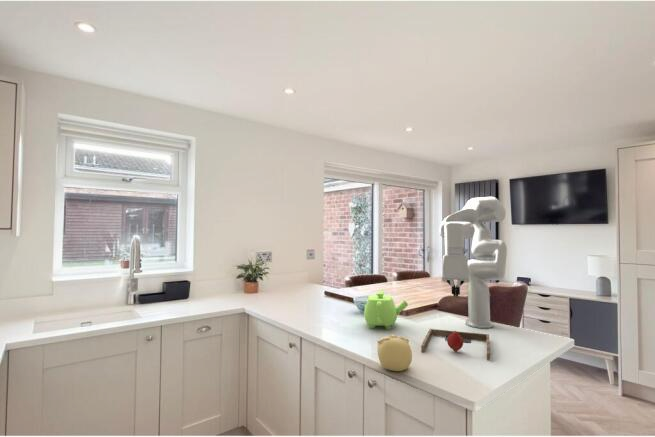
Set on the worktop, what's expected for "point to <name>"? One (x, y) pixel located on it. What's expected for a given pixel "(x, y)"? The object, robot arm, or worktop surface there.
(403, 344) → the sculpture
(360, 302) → the chinaware
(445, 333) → the wooden u-shaped frame
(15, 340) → the worktop surface
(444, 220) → the robot arm
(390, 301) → the teapot
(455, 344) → the onion
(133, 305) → the worktop surface
